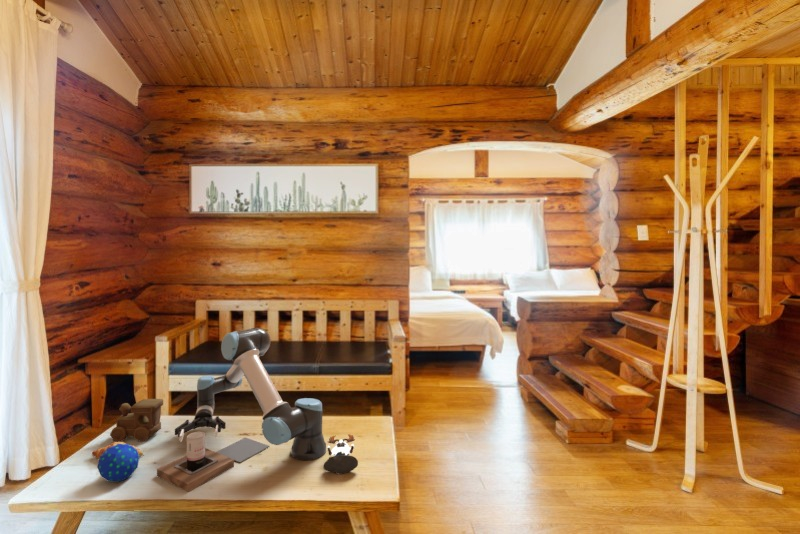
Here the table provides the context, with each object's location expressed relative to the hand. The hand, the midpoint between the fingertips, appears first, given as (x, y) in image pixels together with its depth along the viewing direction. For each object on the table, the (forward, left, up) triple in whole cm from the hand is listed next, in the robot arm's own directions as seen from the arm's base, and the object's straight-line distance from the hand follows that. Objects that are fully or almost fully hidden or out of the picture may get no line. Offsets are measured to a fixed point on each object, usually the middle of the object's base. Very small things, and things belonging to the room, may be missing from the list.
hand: (198, 436), depth 172 cm
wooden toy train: (+43, +2, -10) cm, 45 cm away
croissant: (+30, +17, -10) cm, 36 cm away
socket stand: (-8, +6, -10) cm, 14 cm away
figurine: (-55, -28, -10) cm, 62 cm away
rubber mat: (-10, -15, -10) cm, 20 cm away
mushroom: (+14, +24, -10) cm, 30 cm away
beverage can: (-8, +6, -10) cm, 14 cm away
